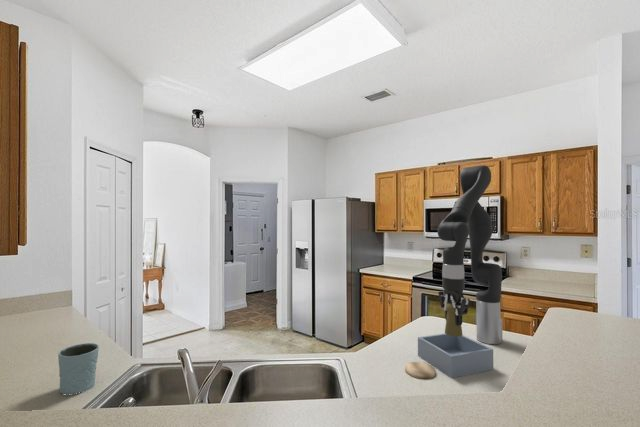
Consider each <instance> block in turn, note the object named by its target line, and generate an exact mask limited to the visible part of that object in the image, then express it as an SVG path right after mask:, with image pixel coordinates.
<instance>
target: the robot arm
mask: <svg viewBox="0 0 640 427" xmlns="http://www.w3.org/2000/svg"><path fill="white" fill-rule="evenodd" d="M459 182H460V187H461V191H462V195H461V196H460V197H458V198H457V199H456V201H455V203H454V204H453V207H451V208H452V209H451V211H450V213H448V214H447V216H445V218H444V219H443V220H442V221H441V222H440V223H439V224H438V227H437V236H438V238H439V239H441V240H442V241H446V242H455V243H454V245H453V246H449V247H445V248H444V249H443V250H442V270H441V274H442V275H441V277H442V280H441V281H442V283H441V284H442V289H443V291H438V297H439V298H438V299H439V304H440V308H441V309H442V308H443V311H444V313H445V314H444V318H445V320H446V319H447V310H446V304H447V303H451V304H453V308H455V313H456V315H455V316H456V325H457V326H460V325H461V326H462V325H463V316H465V315H468V311H469V308H470V304H471V303H470V302H471V299H470V298H466V297H464V293H463V291H464V290H465V286H466V285H465V284H466V283H465V267H464V266H465V265H464V264H465V263H464V261H465V260H464V259H465V258H464V254H465V249H466V245H467V241H468V239H469V248H470V264H471V265H470V268H471V270H470V271H471V277H472V279H473V282H475V283H477V284H481V285H488V289H486V290H481V291H480V290H479V291H477V292H476V294H475V295H476V296H475V300H476V302H475V303H476V304H475V305H476V306H475V307H476V309H475V310H476V312H475V313H476V318H475V319H476V320H475V321H476V340H477V342H478V341H479V343H482V344H483V343H484V344H488V345H499V344H501V342H503V319H502V317H501V295H502V285H503V284H502V282H503V271H502V268H501V265H499V264H498V263H491V262H484V261H483V260H484V259H483V253H484V250H485V248H486V246H487V244H488V243H489V241H490V240H491V237H492V235H493V225H492V219H491V218H492V217H491V216H490V214H489V213H488V212H487V210H486V209H485V208H484V207H483V206H482V205H481V203H480V202H479V200H480V199H481V197H482V196H483V195H484V194H485V192H486V191H487V189H489V188H488V187H489V186H490V184H491V182H492V172H491V169H490V167H489V166H487V165H483V164H482V165H475V166H467V167H462V169H461V170H460V174H459ZM456 305H459V306H456ZM458 308H460V311H458Z"/></svg>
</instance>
